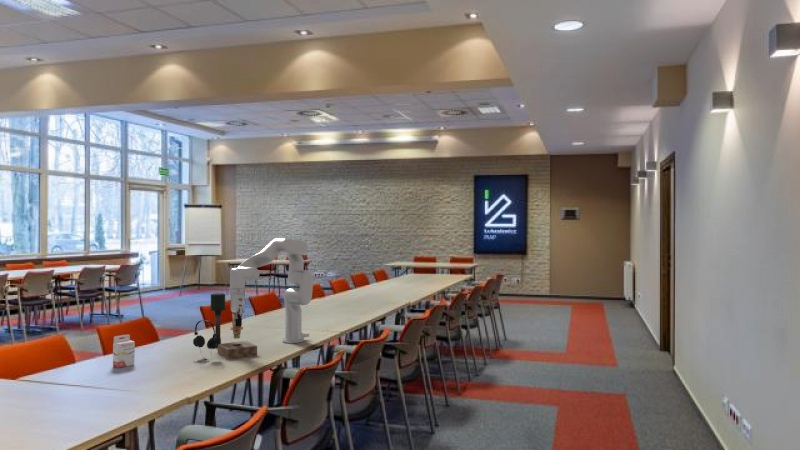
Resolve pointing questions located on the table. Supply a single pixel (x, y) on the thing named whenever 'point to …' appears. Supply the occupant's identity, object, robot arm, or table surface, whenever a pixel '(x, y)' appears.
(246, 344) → the socket block
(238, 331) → the peg
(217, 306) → the stick grenade
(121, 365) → the ink cartridge box
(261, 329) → the table surface
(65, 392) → the table surface
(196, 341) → the headphones
